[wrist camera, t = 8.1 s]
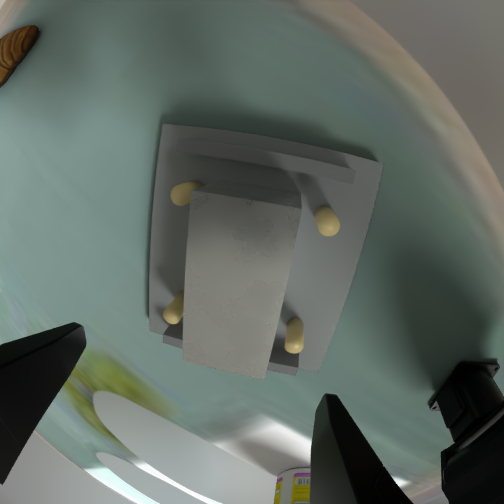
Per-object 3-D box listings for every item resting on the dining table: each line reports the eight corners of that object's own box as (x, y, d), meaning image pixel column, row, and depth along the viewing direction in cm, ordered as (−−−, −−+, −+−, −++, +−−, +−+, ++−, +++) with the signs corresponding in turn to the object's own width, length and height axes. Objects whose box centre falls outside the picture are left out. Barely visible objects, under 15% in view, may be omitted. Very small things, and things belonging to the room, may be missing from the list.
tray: (379, 163, 17) (397, 166, 13) (317, 363, 22) (318, 394, 19) (169, 124, 18) (143, 120, 14) (154, 324, 23) (136, 348, 20)
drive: (300, 193, 17) (302, 208, 12) (272, 332, 21) (264, 379, 16) (219, 180, 18) (191, 190, 13) (205, 317, 21) (182, 359, 16)
